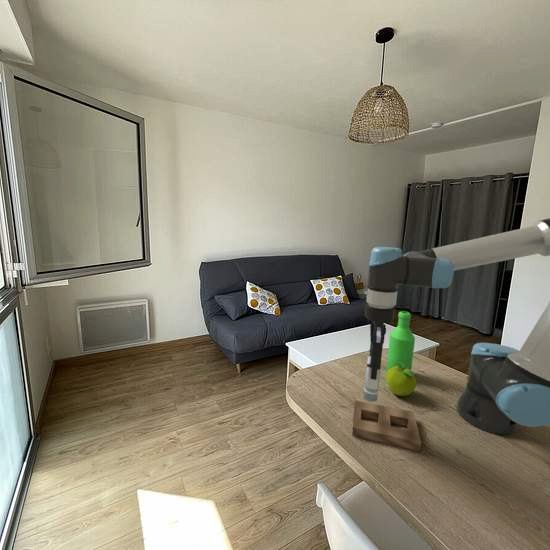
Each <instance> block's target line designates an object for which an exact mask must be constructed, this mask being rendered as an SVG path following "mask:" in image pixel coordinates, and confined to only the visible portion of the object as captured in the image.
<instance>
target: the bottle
mask: <svg viewBox="0 0 550 550" xmlns="http://www.w3.org/2000/svg"><path fill="white" fill-rule="evenodd" d="M397 317H398V322H397V326H396V327H395V328H394V329H393V330H392V331H391V332H390V333H389V342H388V351H387V362H386V372H387V371H388V370H389V369H391V368H392V367H394V366H398V365H397V363H396V362H402V363H404V365H405V368H407V369H409V370H411V371H412V368H413V357H414V353H415V351H414V350H415V343H416V342H415V341H416V337H415V335H414V334H413V332H412V329H410V322H411V318H412V315H411V313H410V312H409V311H404V310H402V311H399V312H398V315H397Z"/></svg>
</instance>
